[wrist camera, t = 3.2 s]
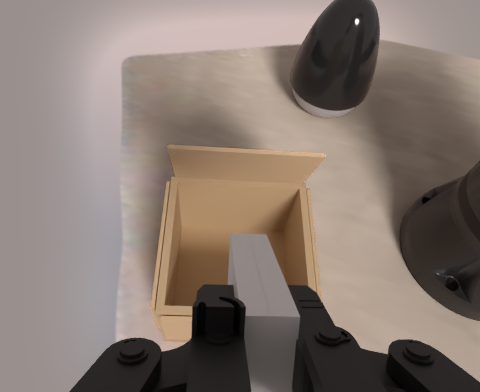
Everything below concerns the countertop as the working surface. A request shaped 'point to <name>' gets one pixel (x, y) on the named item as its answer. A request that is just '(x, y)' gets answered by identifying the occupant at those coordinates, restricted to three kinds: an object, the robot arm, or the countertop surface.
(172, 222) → the carton
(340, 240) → the countertop surface
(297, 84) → the pump dispenser
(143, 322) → the countertop surface
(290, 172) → the front flap
